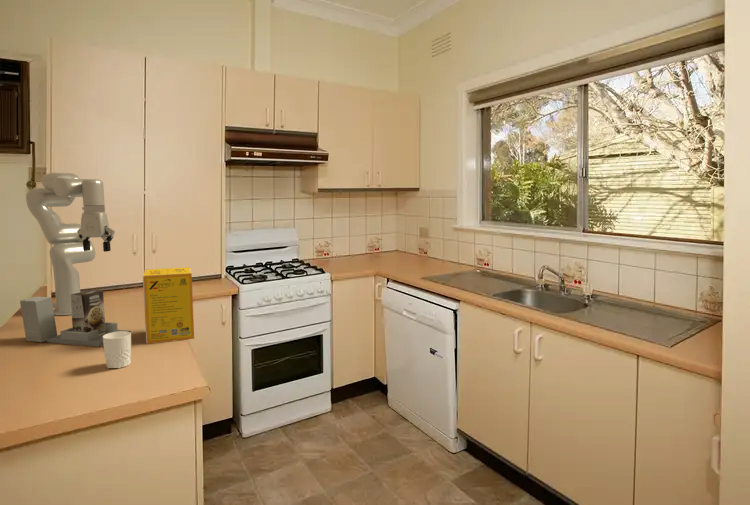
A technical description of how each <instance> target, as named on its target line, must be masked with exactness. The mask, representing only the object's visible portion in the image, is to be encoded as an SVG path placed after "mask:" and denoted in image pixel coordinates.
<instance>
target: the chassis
mask: <svg viewBox="0 0 750 505" xmlns="http://www.w3.org/2000/svg"><path fill="white" fill-rule="evenodd" d="M119 331H127V332H130V333H131V334H132V330H126V329H125V330H123V329H118V322H108V321H105V332H102V333H100V334H98V330H93V331H90V332H88V333H85V332H73V326H72V327H70V328H67V329H64V330H60V331H59V332H60V333H59V335H58V334H57V336H55V337H52V338H49V339H47V341H46V343H51V344H52V343H53V344H63V345H64V344H65V345H75V346H87V347H103V346H104V345H103V336H104V335H105V334H108V333H112V332H119Z"/></svg>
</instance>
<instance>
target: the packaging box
mask: <svg viewBox="0 0 750 505" xmlns="http://www.w3.org/2000/svg"><path fill="white" fill-rule="evenodd" d="M192 275H193V274H192V269H191V267H187V266H186V267H171V268H170V267H169V268H167V267H166V268H152V269H151V268H150V269H144V273H143V274H142V284H143V285H142V287H143V302H144V303H143V305H144V306H143V307H144V323H145V324H144V325H145V344H155V343H156V344H157V343H166V341H168V342H174V341H173V340H177V341H184V340H183V339H187V340H194V339H195V327H194V326H195V324H194V301H193V299H194V297H193V276H192Z"/></svg>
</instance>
